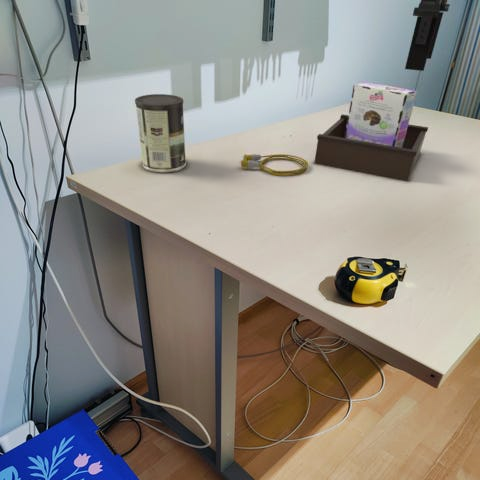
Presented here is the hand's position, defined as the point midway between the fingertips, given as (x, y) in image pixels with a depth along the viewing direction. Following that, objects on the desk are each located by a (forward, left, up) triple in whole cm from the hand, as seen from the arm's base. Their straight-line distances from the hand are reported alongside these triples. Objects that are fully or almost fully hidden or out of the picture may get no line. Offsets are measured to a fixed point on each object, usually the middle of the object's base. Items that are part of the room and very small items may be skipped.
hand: (418, 63), depth 69 cm
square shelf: (+9, -30, -25) cm, 40 cm away
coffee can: (+51, +1, -26) cm, 57 cm away
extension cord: (+28, -12, -26) cm, 39 cm away
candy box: (+9, -30, -26) cm, 40 cm away
